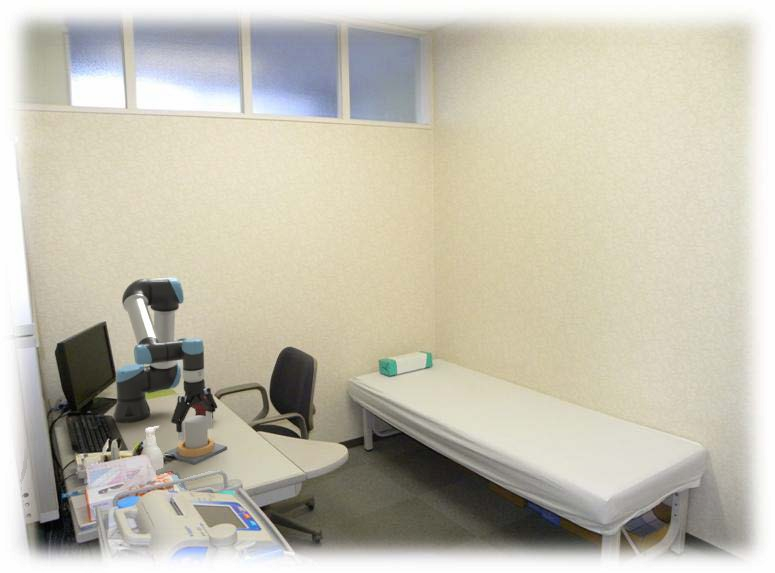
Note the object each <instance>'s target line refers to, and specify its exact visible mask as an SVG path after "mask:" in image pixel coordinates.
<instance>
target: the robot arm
mask: <svg viewBox="0 0 775 573" xmlns="http://www.w3.org/2000/svg"><path fill="white" fill-rule="evenodd" d="M184 299H185V298H184V290H183V286H182V283H181V281H180V279H178V278H177V277H160V278H159V277H158V278H140V279H137V280H135V281H133V282H131V283H130V284H129V285H128V286H127V287H126V289H125V290H124V292H123V295H122V299H121V300H122V302H121V303H122V307H123V309H124V310H125V312H127V313H128V317H129V321H130V324H131V327H132V331H133V333H134V337H135V341H136V343H137V345H134V347H133V357H134V362H135V363H131V364H127V365H125V366H122V367H120V368H118V369H117V370H116V372H115V383H116V384H115V385H116V405H115V409H114V412H113V414H112V415H113V421H115V422H116V423H135V422H139V421H143V420H146V419H147V418H149V417H150V416H151V409H150V405H149V403H148V401H147V398H146V393H149V392H150V393H151V392H155V391H156V392H158V391H163V390H169V389H174V388H177V387H178V386H179V384H180V381H181V377H182V375H183V391H184V395H183V396H180V395H179V396H177V402H176V405H175V409H174V411H173V415H172V417H171V421H170V422H171V424H174V425H175V428H176V430H175V431H176V433H177V439H178V440H179V441H184V440H185V422H184V421H185V419H186V418H187V417H186V416H187V414H188V413H189V412H190V409H191V408H192V405H195V404H196V403H201V404H202V405H203V406H204V407H205V408H206V409H207V410H208V411H206V417H207V429H210V430H212V429H213V427H214V426H213V420H214V413H215V412H216V409H218V405H217V402H216V400H215V399H214V395H213V396H212V394H213V393H212V390H211V388H210V387H206V385H205V353H204V352H205V347H204V341H203V339H202V338H199V337H190V338H185V337H182V338H179V339H177V340H175V326H176V325H175V321H176V311H177V310H179V308H180V305H181V304H183V303H184V301H185V300H184ZM149 306H150V309H151V310H152V311H153V320H152V316H151V314H150V310H149V308H148V307H149ZM178 361H182V367H181V365H180V363H179V362H178ZM145 365H147V366H145ZM181 368H182V369H181ZM182 373H183V374H182ZM204 394H205V396H206V398H207V400H208V402H209V403H208V402H207V401H206V399H205V398H204V397H203V395H204ZM178 440H177V441H178Z"/></svg>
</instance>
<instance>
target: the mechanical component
mask: <svg viewBox="0 0 775 573" xmlns="http://www.w3.org/2000/svg"><path fill="white" fill-rule="evenodd" d="M211 394H212V396H213V397H214V394H213V393H211ZM203 397H204V398H205V399H206V401H207V402H208V400H207V398H206V396H205V394H204V395H203ZM208 403H209V402H208ZM191 408H192V409H194V412H195V415H194V416H197V415H202V416H206V411H208V410H207V409H206V408H205V407H204V406H203V405H202V404H201V403H196V404H195V405H192V407H191Z"/></svg>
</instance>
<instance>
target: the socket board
mask: <svg viewBox="0 0 775 573" xmlns="http://www.w3.org/2000/svg"><path fill="white" fill-rule="evenodd" d="M176 446H177V447H175V448H173V449H170V450H168V451H165V452H164V455H165V454H174V455H175V457H176V458H177V459H176V460H179V461H183V462H185V463H189V464H192V465H197V464H200V463H201V462H203V461H206V460H207V459H209V458H212V457H213V456H215V455H217V454H220V453H221V452H224V451H226V450H228V446H227V445H224V444H220V443H216V441H215V440H214V439H213V438H212V437H209V436H208V445H206V446H204V447H201V448H196V449H188V448H185V440H184V441H182V440H180V442H179V443H178V444H177V445H176Z"/></svg>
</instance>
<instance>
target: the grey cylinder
mask: <svg viewBox="0 0 775 573" xmlns="http://www.w3.org/2000/svg"><path fill="white" fill-rule="evenodd" d="M184 431H185V448H188V449H196V448H201V447H204V446H206V445H208V437H209V435H208V431H209V430H208V428H207V417H206V416H202V415H197V416H195V415H191V416H188V417H185V419H184Z"/></svg>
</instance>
